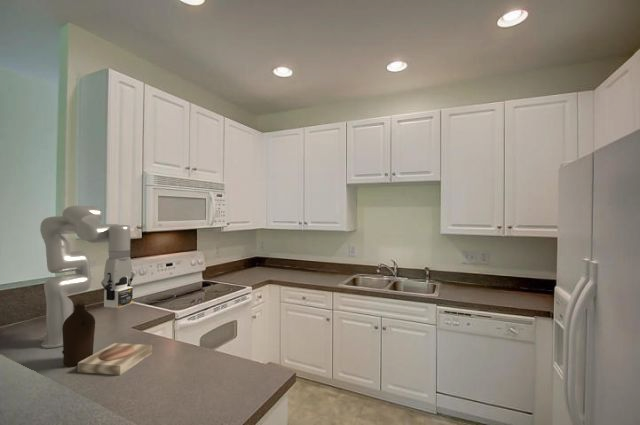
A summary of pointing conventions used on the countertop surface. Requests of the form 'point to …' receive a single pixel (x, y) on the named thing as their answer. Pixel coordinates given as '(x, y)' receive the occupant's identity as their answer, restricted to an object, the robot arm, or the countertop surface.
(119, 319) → the countertop surface
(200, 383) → the countertop surface
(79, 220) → the robot arm
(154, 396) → the countertop surface
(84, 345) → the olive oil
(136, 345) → the stand
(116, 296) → the medicine bottle
